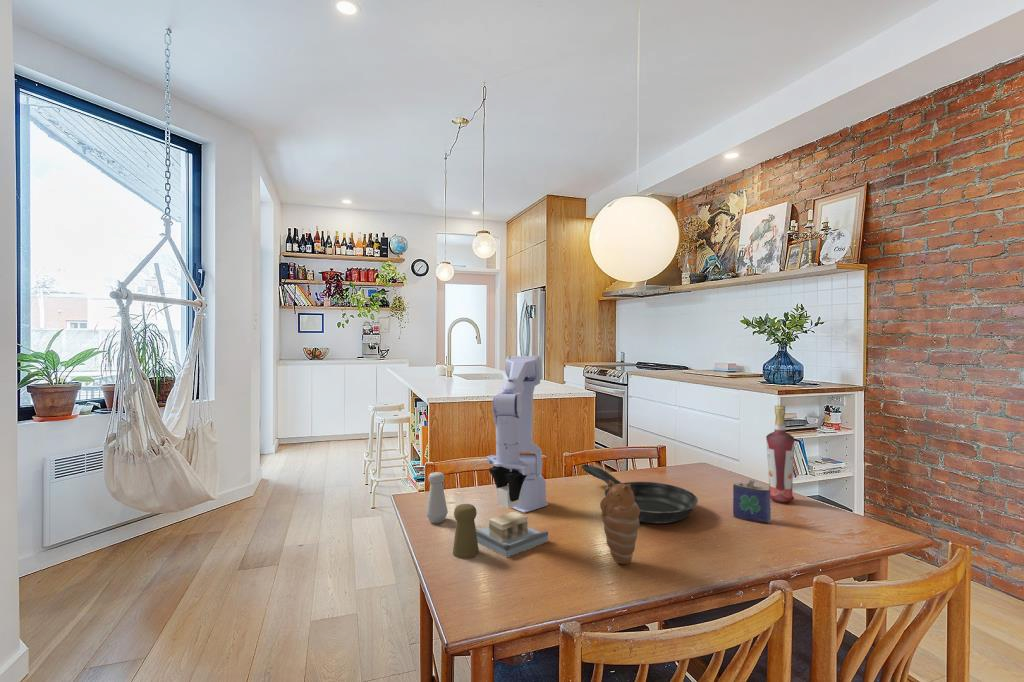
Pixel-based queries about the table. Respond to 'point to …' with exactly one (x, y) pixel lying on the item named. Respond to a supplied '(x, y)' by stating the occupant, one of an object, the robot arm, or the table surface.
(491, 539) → the dock
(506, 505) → the white cube
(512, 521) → the block
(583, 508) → the table surface
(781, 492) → the liquor
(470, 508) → the pepper shaker
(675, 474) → the table surface
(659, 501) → the frying pan
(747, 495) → the flask
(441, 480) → the salt shaker
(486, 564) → the table surface
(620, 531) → the cat ice cream
